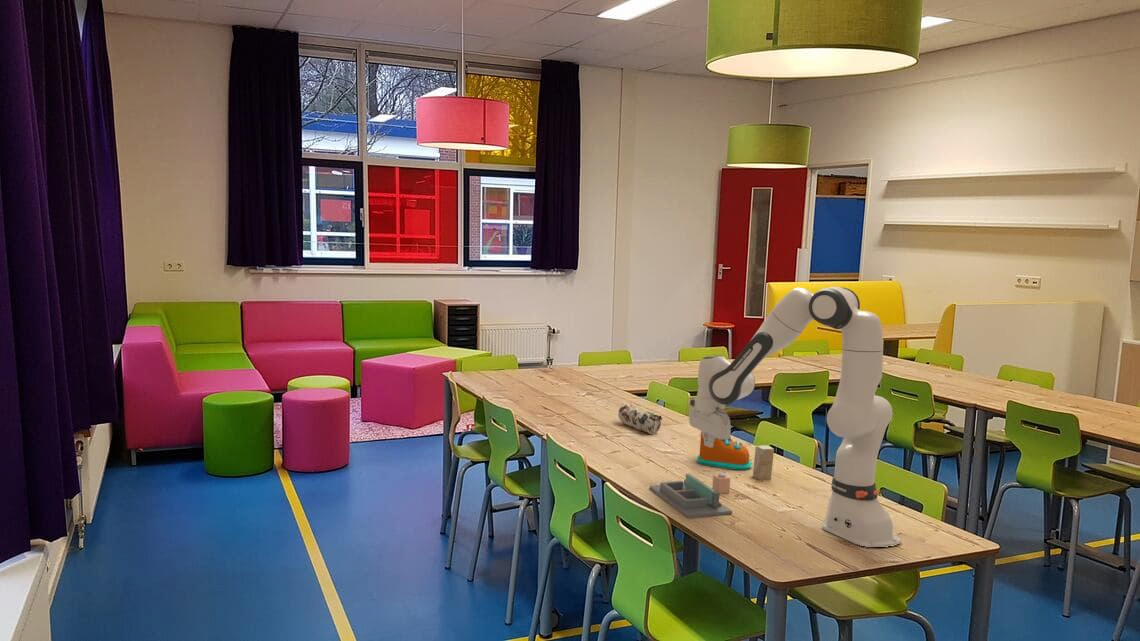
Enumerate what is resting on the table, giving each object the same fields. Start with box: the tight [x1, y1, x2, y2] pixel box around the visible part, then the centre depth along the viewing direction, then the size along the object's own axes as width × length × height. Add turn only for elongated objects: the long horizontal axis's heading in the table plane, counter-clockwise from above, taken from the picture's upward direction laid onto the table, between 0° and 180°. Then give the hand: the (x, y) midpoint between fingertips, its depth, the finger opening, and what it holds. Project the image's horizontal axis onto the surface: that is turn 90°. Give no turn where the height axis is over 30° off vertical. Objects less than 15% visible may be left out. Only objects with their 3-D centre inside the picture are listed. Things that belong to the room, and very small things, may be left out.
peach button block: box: [711, 472, 731, 494], centre depth 255 cm, size 4×4×6 cm
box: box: [752, 445, 775, 480], centre depth 271 cm, size 5×4×11 cm
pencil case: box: [617, 402, 663, 436], centre depth 329 cm, size 22×8×10 cm, turn 32°
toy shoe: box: [696, 430, 752, 471], centre depth 285 cm, size 12×20×15 cm, turn 71°
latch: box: [684, 473, 716, 505], centre depth 246 cm, size 17×1×4 cm, turn 20°
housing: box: [649, 479, 733, 519], centre depth 245 cm, size 26×15×6 cm, turn 20°
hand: (708, 446), depth 254 cm, fingers closed
